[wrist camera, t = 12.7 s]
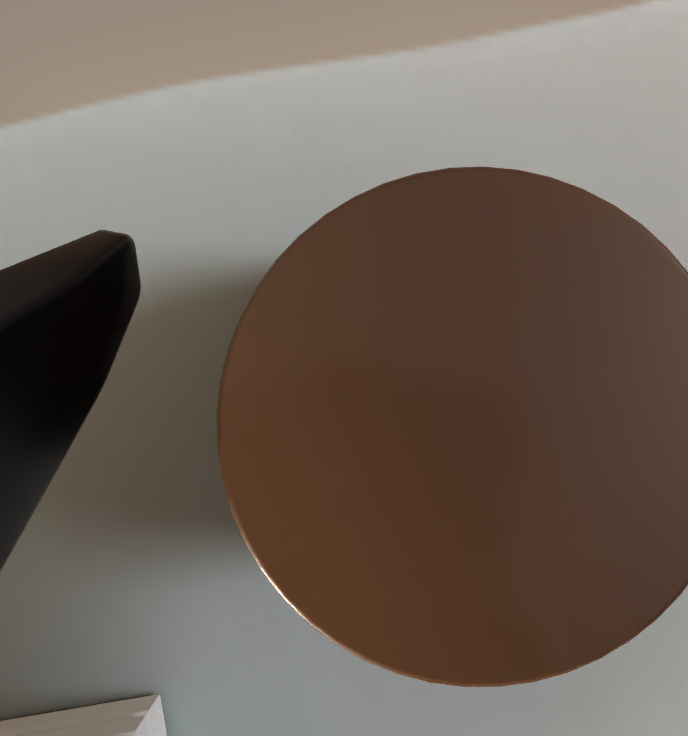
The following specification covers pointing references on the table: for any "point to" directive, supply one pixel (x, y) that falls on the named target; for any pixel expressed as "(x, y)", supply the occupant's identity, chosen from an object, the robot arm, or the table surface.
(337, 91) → the table surface
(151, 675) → the table surface
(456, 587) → the peg
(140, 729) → the white ridged block
